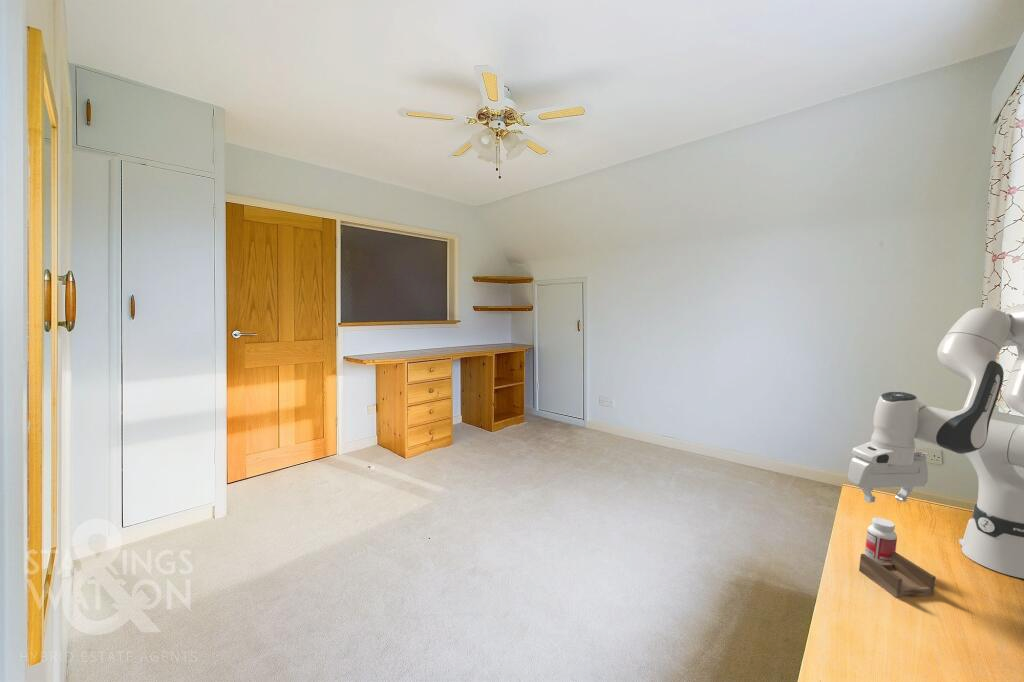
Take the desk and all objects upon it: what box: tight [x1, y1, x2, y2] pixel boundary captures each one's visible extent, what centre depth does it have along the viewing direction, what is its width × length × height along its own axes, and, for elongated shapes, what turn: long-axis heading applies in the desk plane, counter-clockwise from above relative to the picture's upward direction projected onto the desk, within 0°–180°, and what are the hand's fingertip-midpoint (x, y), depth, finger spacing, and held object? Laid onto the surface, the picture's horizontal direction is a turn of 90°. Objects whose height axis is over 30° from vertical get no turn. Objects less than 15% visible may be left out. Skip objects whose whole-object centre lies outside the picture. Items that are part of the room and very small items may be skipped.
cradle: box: [858, 551, 937, 599], centre depth 108 cm, size 10×10×5 cm
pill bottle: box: [864, 517, 898, 563], centre depth 117 cm, size 6×6×11 cm
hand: (885, 501), depth 115 cm, fingers open, 8 cm apart
